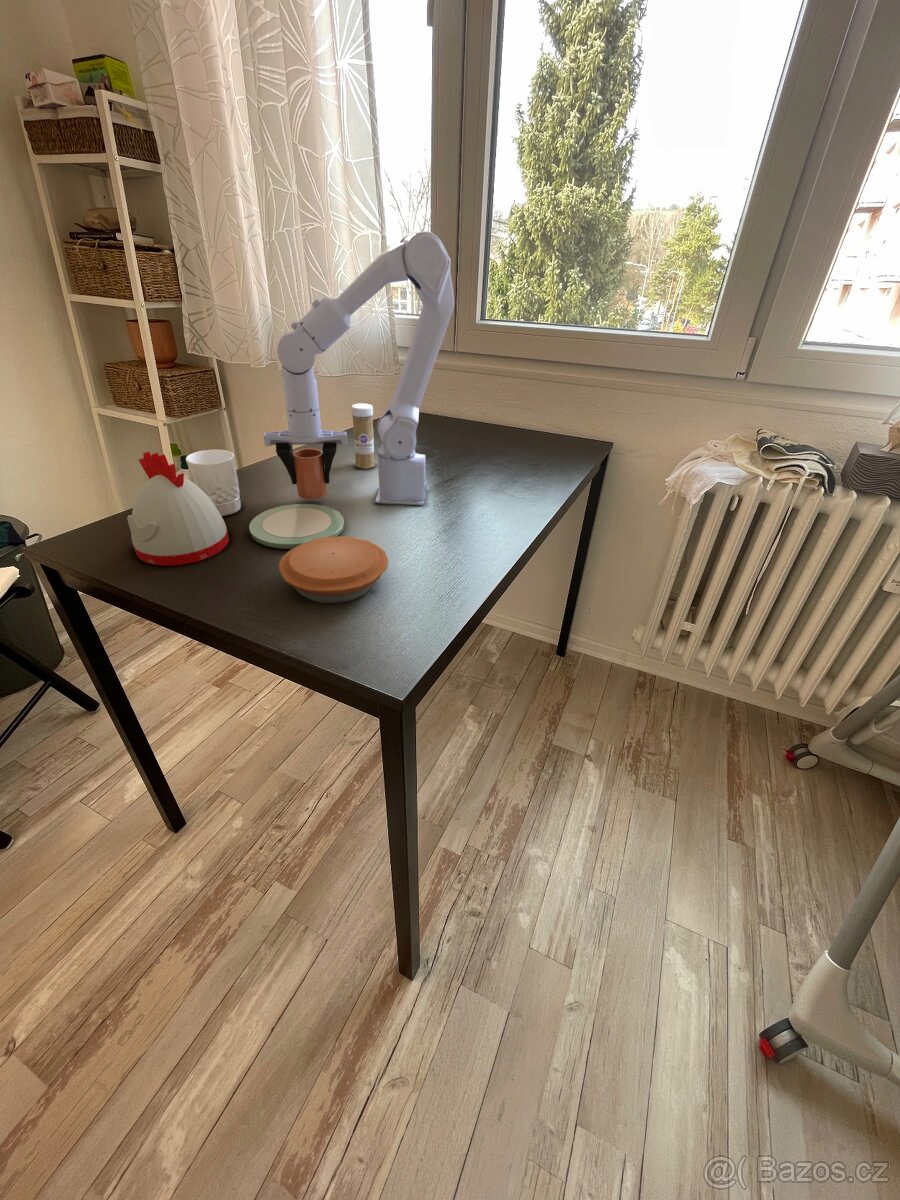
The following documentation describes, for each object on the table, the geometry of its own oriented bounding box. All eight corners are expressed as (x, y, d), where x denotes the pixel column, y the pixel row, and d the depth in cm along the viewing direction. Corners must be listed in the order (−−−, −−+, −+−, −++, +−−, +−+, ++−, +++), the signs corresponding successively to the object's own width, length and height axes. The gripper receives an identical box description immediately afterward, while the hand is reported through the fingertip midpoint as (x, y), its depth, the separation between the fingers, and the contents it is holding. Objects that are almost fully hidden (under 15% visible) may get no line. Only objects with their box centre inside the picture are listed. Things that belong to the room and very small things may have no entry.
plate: (351, 511, 96) (350, 505, 96) (334, 552, 83) (334, 545, 82) (266, 508, 96) (265, 501, 95) (236, 549, 83) (234, 541, 82)
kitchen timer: (188, 519, 91) (164, 434, 83) (246, 536, 87) (228, 449, 78) (116, 551, 81) (81, 459, 72) (178, 573, 76) (149, 477, 68)
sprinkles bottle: (358, 470, 115) (354, 408, 107) (353, 463, 118) (348, 403, 110) (377, 468, 116) (375, 407, 109) (372, 461, 120) (369, 402, 112)
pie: (271, 613, 69) (264, 581, 66) (294, 556, 82) (289, 528, 79) (385, 613, 70) (384, 582, 67) (390, 557, 83) (389, 529, 80)
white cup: (229, 520, 92) (217, 466, 86) (190, 515, 93) (175, 461, 87) (252, 503, 98) (242, 451, 92) (215, 498, 99) (203, 447, 93)
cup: (329, 489, 101) (325, 449, 96) (323, 500, 97) (319, 458, 92) (302, 488, 101) (296, 447, 96) (295, 498, 96) (289, 457, 92)
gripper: (344, 402, 94) (349, 473, 102) (262, 402, 92) (274, 475, 99) (344, 412, 88) (350, 487, 96) (257, 413, 86) (270, 489, 94)
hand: (311, 482), depth 97 cm, fingers closed on cup, 5 cm apart
